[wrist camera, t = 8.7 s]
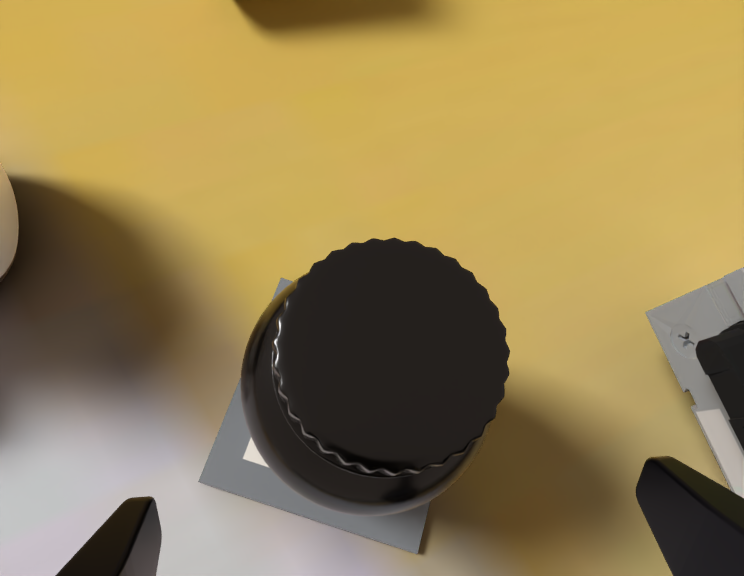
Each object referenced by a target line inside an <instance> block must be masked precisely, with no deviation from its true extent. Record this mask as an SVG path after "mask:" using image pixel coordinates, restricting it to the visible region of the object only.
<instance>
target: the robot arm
mask: <svg viewBox="0 0 744 576" xmlns="http://www.w3.org/2000/svg"><path fill="white" fill-rule="evenodd" d="M636 497H637V500H638V503H639V505H640V507H641V509H642V511H643V514H644V516H645V518H646V520H647V522H648V524H649V526H650V528H651V530H652V532H653V535H654V537H655V539H656V541H657V543H658V545H659V547H660V549H661V551H662V553H663V556H664V558H665V560H666V562H667V564H668V566H669V568H670V570H671V572H672V574H673V576H744V498H743V497H741V496H739V495H737V494H736V493H734V492H732V491H730V490H729V489H727V488H725V487H723V486H722V485H720V484H718V483H716V482H715V481H713V480H711V479H709V478H708V477H706V476H704V475H703V474H701V473H699V472H697V471H696V470H694V469H692V468H690V467H689V466H687V465H685V464H683V463H682V462H680V461H678V460H676V459H675V458H673V457H669V456H661V457H651V458H649V459H647V460H646V462H645V464H644V467H643V469H642V472H641V475H640V478H639V481H638V483H637V486H636ZM161 537H162V534H161V526H160V521H159V516H158V511H157V506H156V502H155V500H154V498H153V497H150V496H148V497H135V498H129V499H127V500H126V501H124V502H123V503H122V504H121V505H120V506H119V508H118V509H117V510H116V511H115V512H114V513H113V514H112V515H111V516H110V517H109V518H108V519H107V521H106V522H105V523H104V524H103V525H102V526H101V527H100V528H99V529H98V530H97V531H96V532H95V534H94V535H93V536H92V537H91V538H90V539H89V540H88V541H87V542H86V543H85V544H84V545H83V547H82V548H81V549H80V550H79V551H78V552H77V553H76V554H75V555H74V556H73V557H72V558H71V560H70V561H69V562H68V563H67V564H66V565H65V566H64V567H63V568H62V569H61V570H60V571H59V573H58V574H57V575H56V576H156V572H157V566H158V560H159V553H160V547H161Z"/></svg>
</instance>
